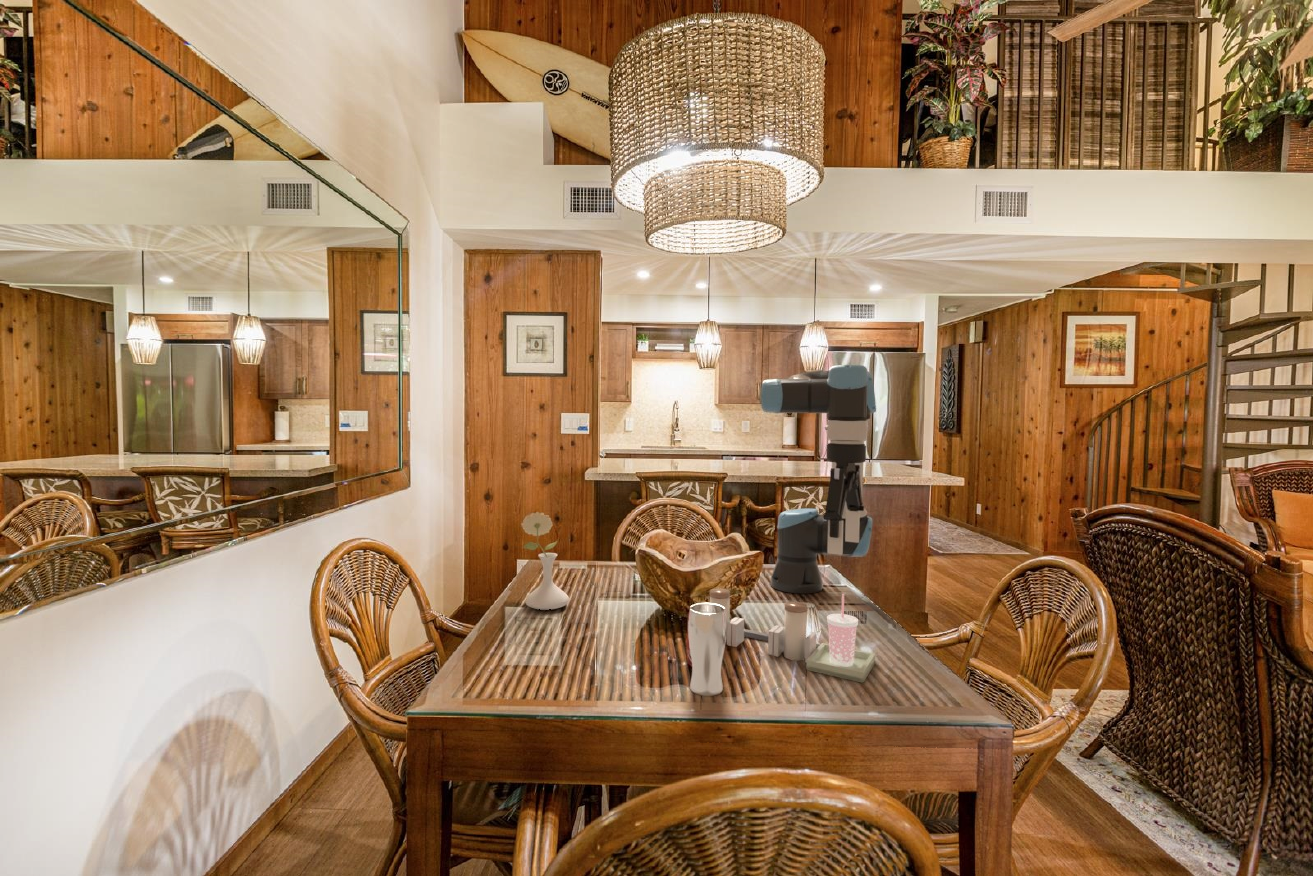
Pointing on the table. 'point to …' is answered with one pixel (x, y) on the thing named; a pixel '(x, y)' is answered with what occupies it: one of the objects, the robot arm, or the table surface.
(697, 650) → the beer glass
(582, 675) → the table surface
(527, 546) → the flower in vase
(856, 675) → the tray
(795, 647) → the cylinder
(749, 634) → the holder
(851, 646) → the beverage cup
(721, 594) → the cylinder
